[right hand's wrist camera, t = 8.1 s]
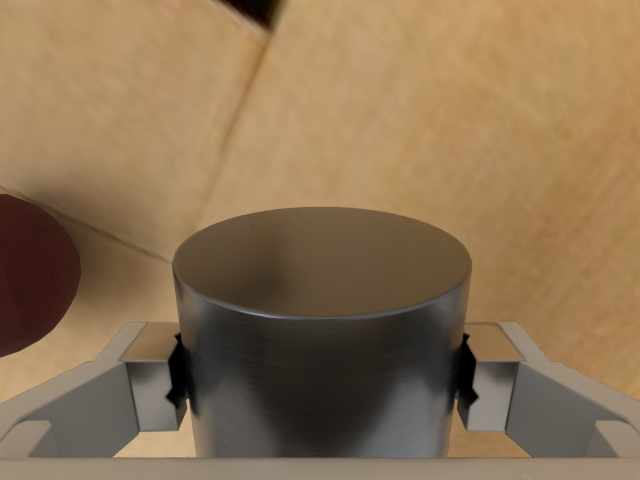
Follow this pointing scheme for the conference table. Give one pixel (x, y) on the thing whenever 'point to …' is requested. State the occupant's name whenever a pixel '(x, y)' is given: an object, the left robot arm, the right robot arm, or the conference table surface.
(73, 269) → the dark red ball
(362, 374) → the rod
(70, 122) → the conference table surface
